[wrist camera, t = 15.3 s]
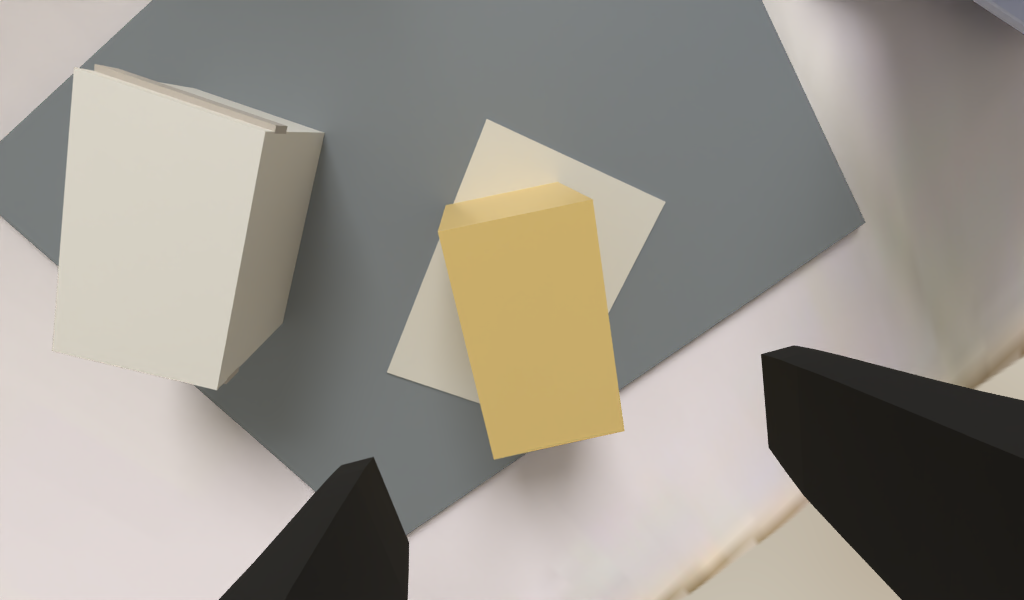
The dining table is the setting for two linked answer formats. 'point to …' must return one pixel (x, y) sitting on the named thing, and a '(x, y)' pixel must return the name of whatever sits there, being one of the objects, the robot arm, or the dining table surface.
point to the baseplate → (476, 192)
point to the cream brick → (177, 226)
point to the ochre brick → (534, 316)
